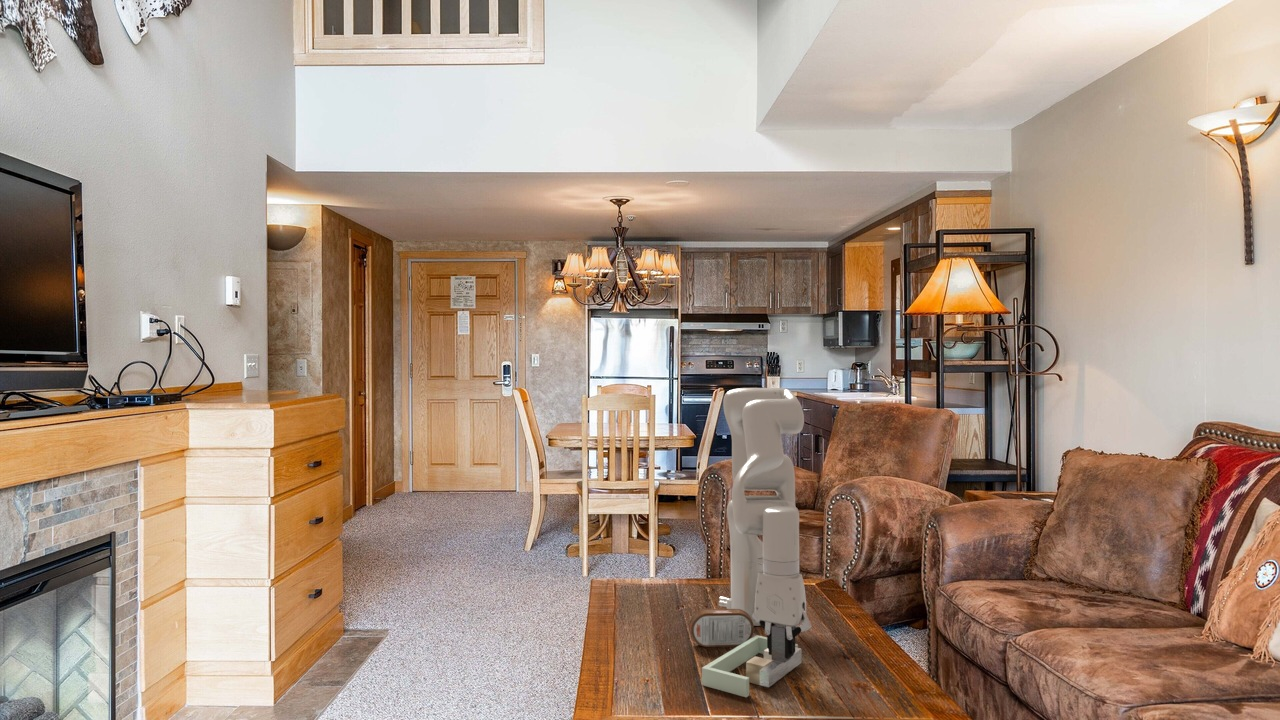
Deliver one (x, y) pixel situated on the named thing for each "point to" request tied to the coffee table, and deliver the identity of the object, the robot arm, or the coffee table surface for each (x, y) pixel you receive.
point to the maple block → (755, 668)
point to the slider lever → (779, 658)
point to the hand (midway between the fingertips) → (781, 653)
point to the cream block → (767, 654)
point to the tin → (721, 627)
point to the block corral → (733, 667)
